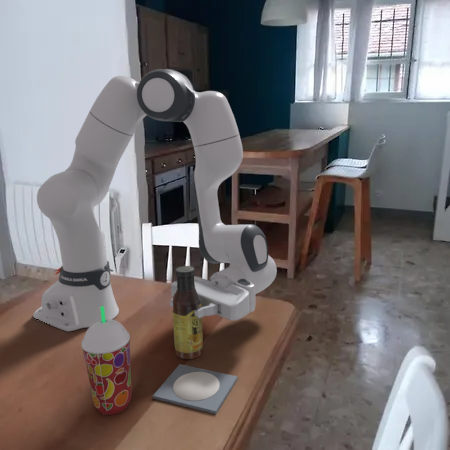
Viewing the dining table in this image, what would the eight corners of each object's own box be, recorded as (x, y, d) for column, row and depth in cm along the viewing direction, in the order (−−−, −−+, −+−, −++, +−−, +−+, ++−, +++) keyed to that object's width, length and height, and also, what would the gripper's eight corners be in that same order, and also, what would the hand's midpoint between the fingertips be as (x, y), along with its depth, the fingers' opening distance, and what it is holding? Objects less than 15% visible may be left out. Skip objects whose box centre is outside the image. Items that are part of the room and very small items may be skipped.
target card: (153, 398, 84) (152, 395, 84) (180, 366, 94) (179, 363, 94) (216, 414, 79) (216, 410, 79) (237, 379, 89) (237, 376, 89)
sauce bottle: (199, 362, 95) (194, 276, 90) (171, 359, 96) (165, 274, 91) (206, 346, 101) (202, 264, 96) (180, 344, 102) (175, 263, 97)
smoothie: (95, 392, 86) (83, 298, 81) (138, 389, 87) (129, 295, 81) (85, 422, 78) (71, 319, 73) (133, 418, 79) (123, 316, 73)
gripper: (195, 266, 111) (151, 283, 101) (260, 286, 98) (217, 308, 88) (196, 289, 113) (153, 308, 103) (260, 312, 99) (218, 337, 90)
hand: (183, 309), depth 95 cm, fingers closed on sauce bottle, 6 cm apart
